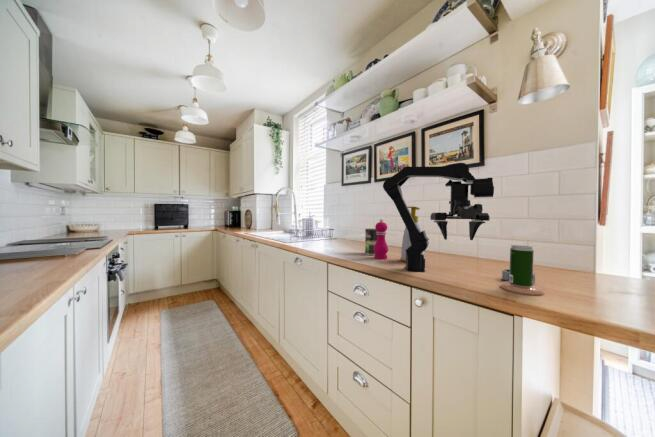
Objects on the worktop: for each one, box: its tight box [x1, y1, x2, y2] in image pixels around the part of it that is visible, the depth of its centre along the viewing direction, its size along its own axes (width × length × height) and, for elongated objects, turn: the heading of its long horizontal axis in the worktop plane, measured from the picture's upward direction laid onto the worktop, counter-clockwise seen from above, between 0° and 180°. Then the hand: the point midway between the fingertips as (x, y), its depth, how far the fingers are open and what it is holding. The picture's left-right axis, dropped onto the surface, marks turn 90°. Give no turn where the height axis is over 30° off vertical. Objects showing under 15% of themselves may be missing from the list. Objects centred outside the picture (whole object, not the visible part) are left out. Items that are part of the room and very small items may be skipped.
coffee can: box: [364, 228, 377, 257], centre depth 130 cm, size 10×10×14 cm
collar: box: [501, 268, 536, 285], centre depth 79 cm, size 8×8×3 cm
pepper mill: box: [374, 218, 389, 260], centre depth 118 cm, size 7×7×20 cm
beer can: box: [509, 244, 535, 289], centre depth 69 cm, size 5×5×12 cm
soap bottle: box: [400, 206, 425, 263], centre depth 111 cm, size 11×12×26 cm
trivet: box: [500, 280, 545, 296], centre depth 69 cm, size 10×10×1 cm
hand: (458, 239), depth 86 cm, fingers open, 9 cm apart
